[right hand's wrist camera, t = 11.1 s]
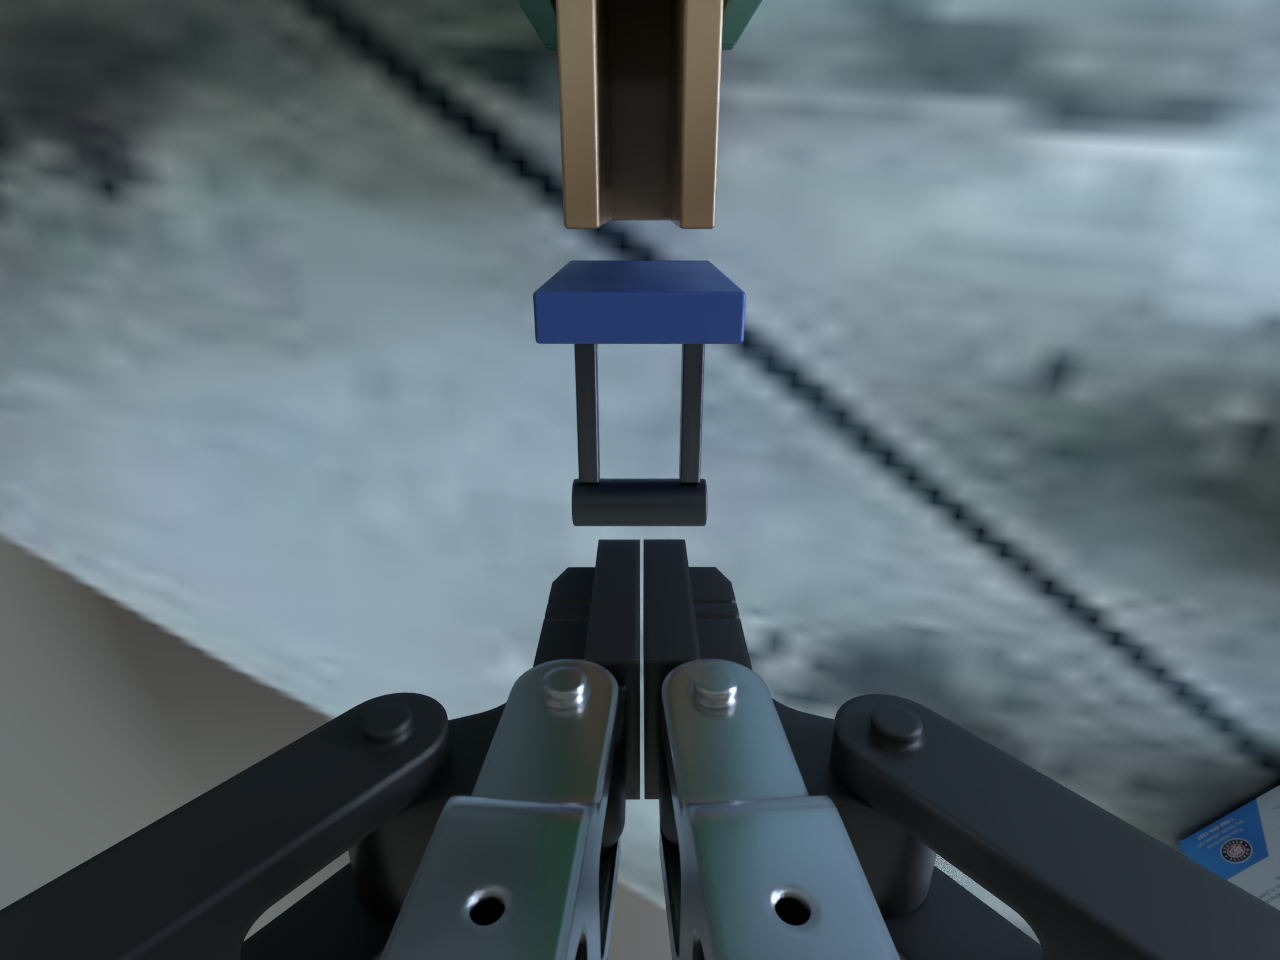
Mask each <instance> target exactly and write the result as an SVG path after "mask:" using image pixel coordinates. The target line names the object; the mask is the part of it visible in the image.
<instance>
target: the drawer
mask: <svg viewBox="0 0 1280 960" xmlns="http://www.w3.org/2000/svg"><path fill="white" fill-rule="evenodd" d="M556 20H557V47H558V74H559V101H560V128H561V155H562V183H563V210H564V226H565V228H567V229H597V228H599V227H600V226H602V225H603V224H605V223H607V222H608V221H610V220H670V221H671V222H673V223H674V224H676V225H677V226H679V227H680V228H682V229H712V228H714V226H715V212H716V185H717V159H718V132H719V105H720V78H721V51H722V24H723V0H556ZM533 302H534V321H535V339H536V342H537V343H539V344H574V347H575V376H576V406H577V436H578V465H579V479H574V481H573V486H572V519H573V524H574V526H705V524H706V520H707V485H706V481H705V479H700V469H701V440H702V411H703V382H704V352H705V344H740V343H742V342H743V340H744V322H745V303H746V294H745V292H744V291H742V290H741V289H740V288H739V287H738V286H737V285H736V284H734V283H733V282H732V281H731V280H730V279H729V278H728V277H726V276H725V275H724V274H723V273H722V272H721V271H720V270H718V269H717V268H716V267H715V266H714V265H713V264H712V263H710V262H709V261H570V262H569V263H568V264H567V265H565V266H564V267H563V268H562V269H561V270H560V271H559V272H557V273H556V274H555V275H554V276H553V277H552V278H550V279H549V280H548V281H547V282H546V283H545V284H544V285H542V286H541V287H540V288H539V289H538V290H537V291H535V292H534V294H533ZM597 344H682V370H681V415H680V460H679V478H680V479H600V452H599V407H598V361H597Z"/></svg>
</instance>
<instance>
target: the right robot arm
mask: <svg viewBox="0 0 1280 960" xmlns="http://www.w3.org/2000/svg"><path fill="white" fill-rule="evenodd" d="M643 654H644V782H645V799H659V808H660V860H661V868H662V877H663V885H664V894H665V902H666V911H667V919H668V927H669V936H670V944H671V953H672V960H1280V910H1278V909H1276V908H1275V907H1273V906H1271V905H1269V904H1268V903H1266V902H1264V901H1262V900H1261V899H1259V898H1257V897H1255V896H1254V895H1252V894H1250V893H1248V892H1247V891H1245V890H1243V889H1241V888H1240V887H1238V886H1236V885H1234V884H1233V883H1231V882H1229V881H1228V880H1226V879H1224V878H1222V877H1221V876H1219V875H1217V874H1215V873H1214V872H1212V871H1210V870H1208V869H1207V868H1205V867H1203V866H1201V865H1200V864H1198V863H1196V862H1194V861H1193V860H1191V859H1189V858H1187V857H1186V856H1184V855H1182V854H1181V853H1179V852H1177V851H1175V850H1174V849H1172V848H1170V847H1168V846H1167V845H1165V844H1163V843H1161V842H1160V841H1158V840H1156V839H1154V838H1153V837H1151V836H1149V835H1147V834H1146V833H1144V832H1142V831H1140V830H1139V829H1137V828H1135V827H1134V826H1132V825H1130V824H1128V823H1127V822H1125V821H1123V820H1121V819H1120V818H1118V817H1116V816H1114V815H1113V814H1111V813H1109V812H1107V811H1106V810H1104V809H1102V808H1100V807H1099V806H1097V805H1095V804H1093V803H1092V802H1090V801H1088V800H1087V799H1085V798H1083V797H1081V796H1080V795H1078V794H1076V793H1074V792H1073V791H1071V790H1069V789H1067V788H1066V787H1064V786H1062V785H1060V784H1059V783H1057V782H1055V781H1053V780H1052V779H1050V778H1048V777H1046V776H1045V775H1043V774H1041V773H1040V772H1038V771H1036V770H1034V769H1033V768H1031V767H1029V766H1027V765H1026V764H1024V763H1022V762H1020V761H1019V760H1017V759H1015V758H1013V757H1012V756H1010V755H1008V754H1006V753H1005V752H1003V751H1001V750H999V749H998V748H996V747H994V746H992V745H991V744H989V743H987V742H986V741H984V740H982V739H980V738H979V737H977V736H975V735H973V734H972V733H970V732H968V731H966V730H965V729H963V728H961V727H959V726H958V725H956V724H954V723H952V722H951V721H949V720H947V719H945V718H944V717H942V716H940V715H939V714H937V713H935V712H933V711H932V710H930V709H928V708H926V707H924V706H922V705H920V704H918V703H916V702H913V701H911V700H908V699H905V698H901V697H897V696H892V695H883V694H869V695H863V696H859V697H856V698H853V699H851V700H849V701H847V702H846V703H844V704H843V705H842V706H841V707H840V709H839V710H838V711H837V714H836V717H835V720H834V719H829V718H825V717H821V716H816V715H812V714H807V713H804V712H800V711H797V710H794V709H792V708H789V707H787V706H785V705H783V704H781V703H779V702H777V701H776V700H774V699H773V698H771V695H770V692H769V690H768V687H767V686H766V684H765V682H764V681H763V680H762V678H761V677H760V676H759V675H757V674H756V673H755V672H754V671H752V667H751V663H750V658H749V654H748V650H747V646H746V642H745V638H744V633H743V629H742V625H741V621H740V618H739V613H738V608H737V604H736V602H735V596H734V592H733V588H732V583H731V582H730V581H729V580H728V579H727V578H726V577H725V576H724V575H723V574H722V573H721V572H720V571H719V570H718V569H717V568H716V567H688V559H687V552H686V544H685V540H684V539H644V581H643ZM626 799H640V540H599V542H598V550H597V558H596V566H595V567H568V568H567V569H566V570H565V571H564V572H563V573H562V574H561V575H560V576H559V577H558V578H557V579H556V580H555V581H554V582H553V583H552V587H551V591H550V596H549V600H548V604H547V609H546V613H545V619H544V622H543V626H542V630H541V635H540V639H539V643H538V648H537V652H536V656H535V661H534V665H533V668H531V669H530V670H528V671H526V672H525V673H524V674H523V675H521V676H520V677H519V678H518V680H517V681H516V682H515V684H514V686H513V687H512V690H511V692H510V695H509V698H508V700H507V703H505V704H503V705H501V706H499V707H497V708H494V709H491V710H489V711H486V712H482V713H479V714H474V715H470V716H466V717H461V718H457V719H452V720H448V718H447V714H446V711H445V709H444V708H443V706H442V705H441V704H440V703H439V702H438V701H436V700H435V699H433V698H431V697H429V696H426V695H422V694H417V693H393V694H388V695H383V696H380V697H376V698H373V699H370V700H368V701H365V702H363V703H361V704H359V705H357V706H355V707H354V708H352V709H350V710H348V711H347V712H345V713H343V714H341V715H340V716H338V717H336V718H335V719H333V720H331V721H329V722H328V723H326V724H324V725H322V726H321V727H319V728H317V729H315V730H314V731H312V732H310V733H308V734H307V735H305V736H303V737H301V738H300V739H298V740H296V741H295V742H293V743H291V744H289V745H288V746H286V747H284V748H282V749H281V750H279V751H277V752H275V753H274V754H272V755H270V756H268V757H267V758H265V759H263V760H261V761H260V762H258V763H256V764H254V765H253V766H251V767H249V768H247V769H246V770H244V771H242V772H241V773H239V774H237V775H235V776H234V777H232V778H230V779H228V780H227V781H225V782H223V783H221V784H220V785H218V786H216V787H214V788H213V789H211V790H209V791H208V792H206V793H204V794H202V795H200V796H199V797H197V798H195V799H194V800H192V801H190V802H188V803H187V804H185V805H183V806H181V807H180V808H178V809H176V810H174V811H173V812H171V813H169V814H167V815H166V816H164V817H162V818H160V819H159V820H157V821H155V822H153V823H152V824H150V825H148V826H147V827H145V828H143V829H141V830H140V831H138V832H136V833H134V834H133V835H131V836H129V837H127V838H126V839H124V840H122V841H120V842H119V843H117V844H115V845H113V846H112V847H110V848H108V849H107V850H105V851H103V852H101V853H100V854H98V855H96V856H94V857H93V858H91V859H89V860H87V861H86V862H84V863H82V864H80V865H79V866H77V867H75V868H73V869H72V870H70V871H68V872H66V873H65V874H63V875H61V876H59V877H58V878H56V879H54V880H53V881H51V882H49V883H47V884H46V885H44V886H42V887H40V888H39V889H37V890H35V891H33V892H32V893H30V894H28V895H26V896H25V897H23V898H21V899H19V900H18V901H16V902H14V903H12V904H11V905H9V906H7V907H6V908H4V909H2V910H0V960H608V953H609V944H610V936H611V928H612V919H613V911H614V902H615V894H616V885H617V877H618V868H619V860H620V836H621V834H622V831H623V828H624V824H625V801H626ZM347 850H348V851H349V856H350V861H351V862H350V863H349V864H347V865H346V866H345V867H343V868H342V869H341V870H339V871H338V872H336V873H335V874H334V875H332V876H331V877H330V878H328V879H327V880H326V881H324V882H323V883H322V884H320V885H319V886H318V887H316V888H315V889H314V890H312V891H311V892H310V893H308V894H307V895H306V896H304V897H303V898H302V899H300V900H299V901H298V902H296V903H295V904H294V905H292V906H291V907H290V908H288V909H287V910H286V911H284V912H283V913H282V914H280V915H279V916H278V917H276V918H275V919H274V920H272V921H271V922H270V923H268V924H267V925H266V926H264V927H263V928H262V929H260V930H259V931H258V932H256V933H255V934H254V935H252V936H251V937H250V938H248V939H247V940H245V941H244V939H245V936H246V935H247V933H248V931H249V929H250V928H251V927H252V925H253V924H254V922H255V921H256V920H257V919H258V918H259V917H260V916H261V915H262V914H263V913H264V912H265V911H266V910H267V909H268V908H270V907H271V906H272V905H273V904H275V903H276V902H278V901H279V900H280V899H282V898H283V897H284V896H286V895H287V894H289V893H290V892H291V891H293V890H294V889H295V888H297V887H298V886H299V885H301V884H302V883H304V882H305V881H306V880H308V879H309V878H310V877H312V876H313V875H314V874H316V873H317V872H318V871H320V870H321V869H323V868H324V867H325V866H327V865H328V864H330V863H331V862H332V861H334V860H335V859H336V858H338V857H339V856H340V855H342V854H343V853H344V852H346V851H347ZM936 853H937V854H938V855H940V856H941V857H942V858H944V859H945V860H946V861H948V862H949V863H951V864H952V865H953V866H955V867H956V868H957V869H959V870H960V871H961V872H963V873H964V874H966V875H967V876H968V877H970V878H971V879H972V880H974V881H975V882H976V883H978V884H979V885H981V886H982V887H983V888H985V889H986V890H987V891H989V892H990V893H992V894H993V895H994V896H996V897H997V898H998V899H1000V900H1001V901H1002V902H1004V903H1005V904H1007V905H1008V906H1009V907H1011V908H1012V909H1013V910H1014V911H1016V912H1017V913H1018V914H1019V915H1020V916H1021V917H1022V918H1023V919H1024V920H1025V921H1026V922H1027V923H1028V924H1029V925H1030V927H1031V928H1032V929H1033V931H1034V932H1035V934H1036V936H1037V937H1038V939H1039V941H1040V944H1041V945H1040V944H1039V943H1037V942H1036V941H1035V940H1033V939H1032V938H1031V937H1029V936H1028V935H1026V934H1025V933H1024V932H1022V931H1021V930H1020V929H1018V928H1017V927H1016V926H1014V925H1013V924H1012V923H1010V922H1009V921H1008V920H1006V919H1005V918H1004V917H1002V916H1001V915H1000V914H998V913H997V912H996V911H994V910H993V909H992V908H990V907H989V906H988V905H986V904H985V903H984V902H982V901H981V900H980V899H978V898H977V897H976V896H974V895H973V894H972V893H970V892H969V891H968V890H966V889H965V888H964V887H962V886H961V885H960V884H958V883H957V882H956V881H954V880H953V879H952V878H950V877H949V876H948V875H946V874H945V873H944V872H942V871H941V870H940V869H938V868H937V867H936V866H934V862H935V858H936ZM243 941H244V942H243Z"/></svg>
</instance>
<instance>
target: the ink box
mask: <svg viewBox="0 0 1280 960" xmlns="http://www.w3.org/2000/svg"><path fill="white" fill-rule="evenodd" d="M1178 847H1179V849H1180V850H1181V851H1182V852H1183V853H1184V854H1185V856H1186V857H1187V858H1189V859H1191V860H1193V861H1194V862H1196V863H1198V864H1200V865H1201V866H1203V867H1205V868H1207V869H1208V870H1210V871H1212V872H1214V873H1215V874H1217V875H1219V876H1221V877H1222V878H1224V879H1226V880H1228V881H1229V882H1231V883H1233V884H1234V885H1236V886H1238V887H1240V888H1241V889H1243V890H1245V891H1247V892H1248V893H1250V894H1252V895H1254V896H1255V897H1257V898H1259V899H1261V900H1262V901H1264V902H1266V903H1268V904H1269V905H1271V906H1273V907H1275V908H1276V909H1278V910H1280V785H1279V786H1277V787H1275V788H1273V789H1272V790H1270V791H1268V792H1266V793H1265V794H1263V795H1261V796H1259V797H1258V798H1256V799H1254V800H1252V801H1251V802H1249V803H1247V804H1245V805H1243V806H1242V807H1240V808H1238V809H1236V810H1235V811H1233V812H1231V813H1229V814H1228V815H1226V816H1224V817H1222V818H1220V819H1219V820H1217V821H1215V822H1213V823H1211V824H1210V825H1208V826H1206V827H1204V828H1203V829H1201V830H1199V831H1197V832H1196V833H1194V834H1192V835H1190V836H1188V837H1186V838H1185V839H1183V840H1181V841H1180V842H1179V843H1178Z"/></svg>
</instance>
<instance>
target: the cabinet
mask: <svg viewBox="0 0 1280 960" xmlns="http://www.w3.org/2000/svg"><path fill="white" fill-rule="evenodd" d="M517 1H518V3H519V4H520V6H521V7H522V9H523V11H524V12H525V14H526V16H527V17H528V19H529V21H530V22H531V24H532V25H533V27H534V29H535V30H536V32H537V34H538V35H539V37H540V38H541V40H542V42H543V43H544V44H545V46H546V48H547V49H549V50H558V47H557V20H556V0H517ZM761 1H762V0H723V24H722V50H731V49H733V47H734V45H735V44H736V42H737V41H738V39H739V37H740V36H741V34H742V33H743V31H744V29H745V28H746V26H747V24H748V23H749V21H750V19H751V18H752V16H753V14H754V13H755V11H756V9H757V8H758V6H759V5H760V3H761Z"/></svg>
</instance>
